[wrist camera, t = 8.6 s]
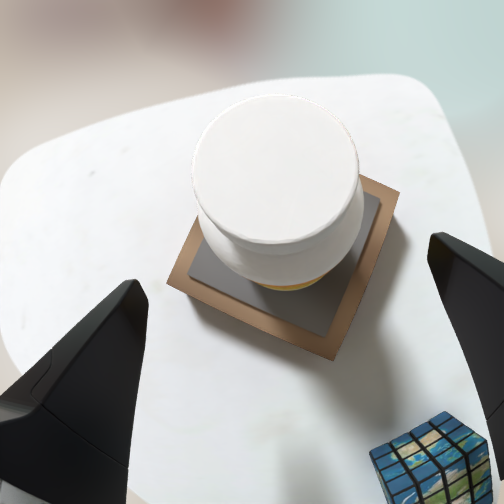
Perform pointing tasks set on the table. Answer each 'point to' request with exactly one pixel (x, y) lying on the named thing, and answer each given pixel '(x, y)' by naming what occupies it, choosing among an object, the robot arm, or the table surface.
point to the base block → (297, 301)
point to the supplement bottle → (278, 190)
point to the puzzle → (435, 465)
